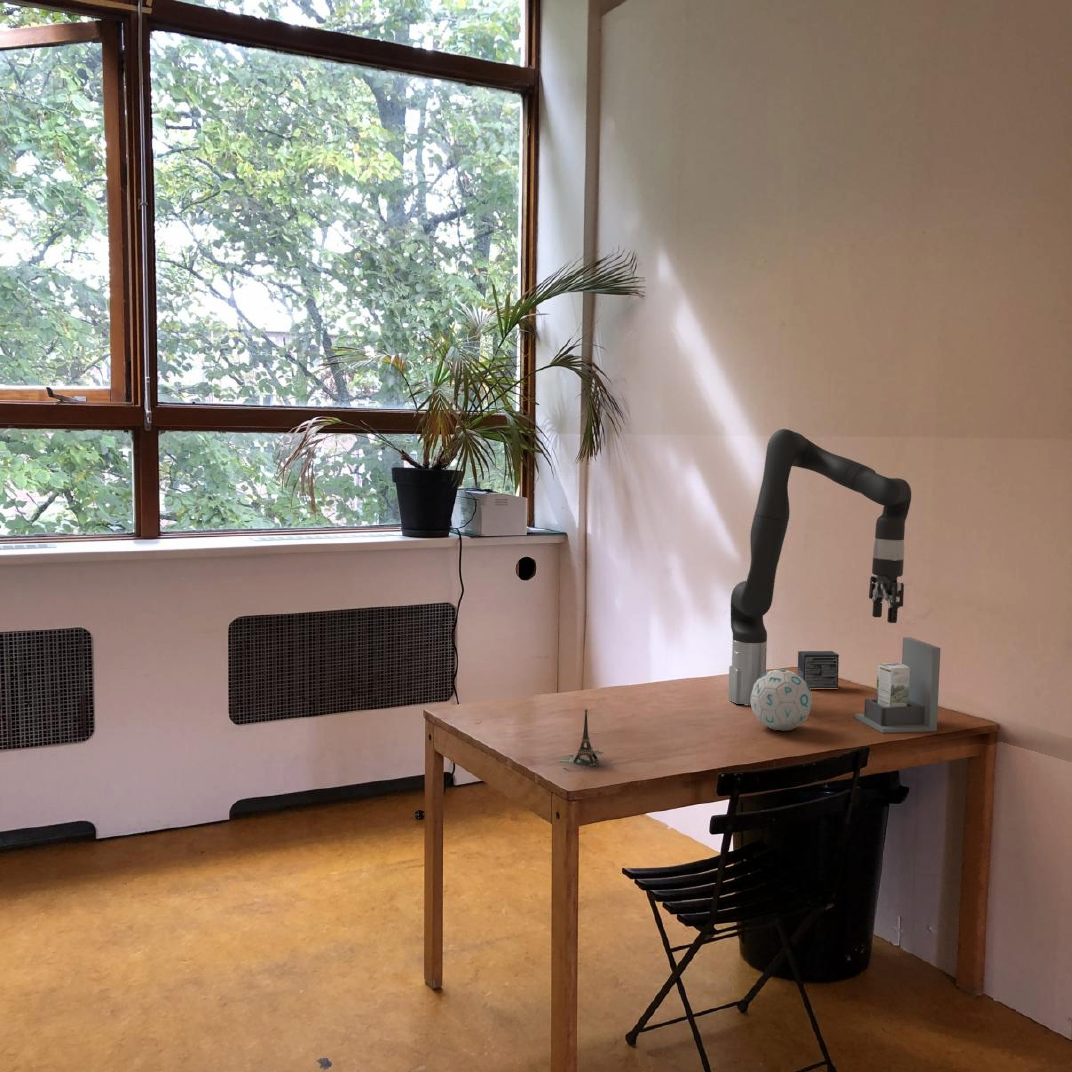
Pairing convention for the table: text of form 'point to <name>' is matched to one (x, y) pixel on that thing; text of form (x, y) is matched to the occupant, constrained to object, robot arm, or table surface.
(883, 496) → the robot arm
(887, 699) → the syrup box
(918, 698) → the wall holder
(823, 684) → the small box
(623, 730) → the table surface
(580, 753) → the eiffel tower figurine
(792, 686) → the puzzle ball
